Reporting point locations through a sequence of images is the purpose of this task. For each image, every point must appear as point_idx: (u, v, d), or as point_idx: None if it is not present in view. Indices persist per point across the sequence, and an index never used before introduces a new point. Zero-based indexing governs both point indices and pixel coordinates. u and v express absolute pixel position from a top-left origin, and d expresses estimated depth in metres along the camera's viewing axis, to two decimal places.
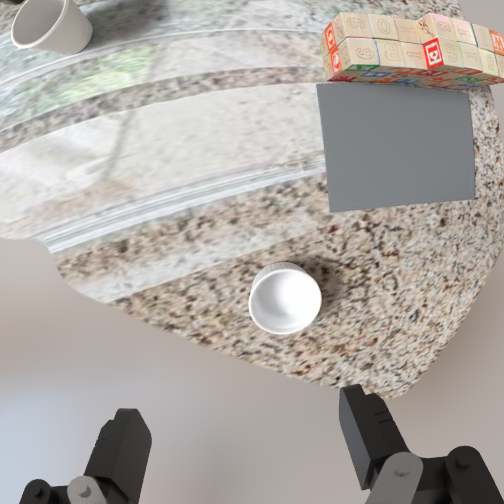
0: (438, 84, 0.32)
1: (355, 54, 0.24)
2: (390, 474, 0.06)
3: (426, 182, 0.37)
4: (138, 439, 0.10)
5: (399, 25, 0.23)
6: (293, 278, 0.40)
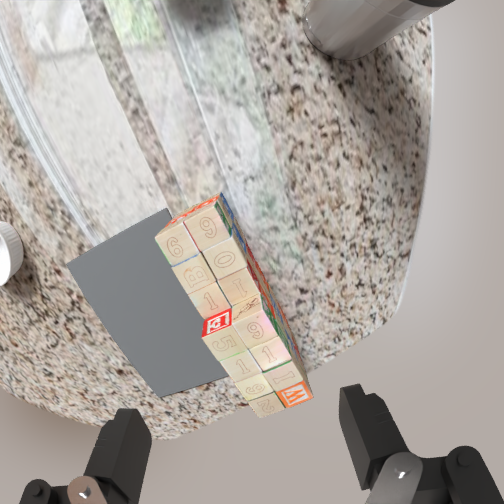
0: None
1: (167, 237, 0.26)
2: (390, 474, 0.06)
3: (137, 345, 0.40)
4: (138, 439, 0.10)
5: (239, 276, 0.28)
6: None
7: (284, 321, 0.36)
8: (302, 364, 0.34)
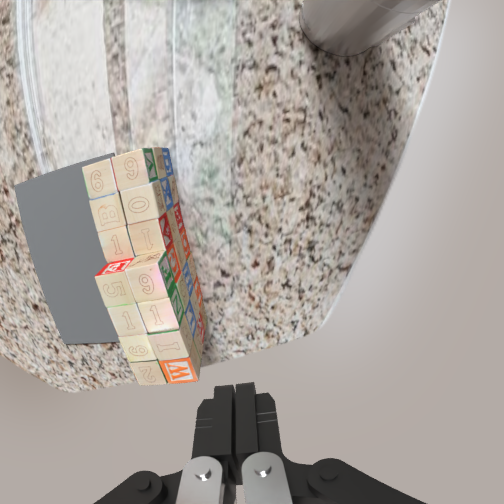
0: None
1: (93, 170, 0.24)
2: (253, 476, 0.07)
3: (55, 283, 0.36)
4: None
5: (148, 226, 0.26)
6: None
7: (195, 295, 0.34)
8: (201, 345, 0.32)
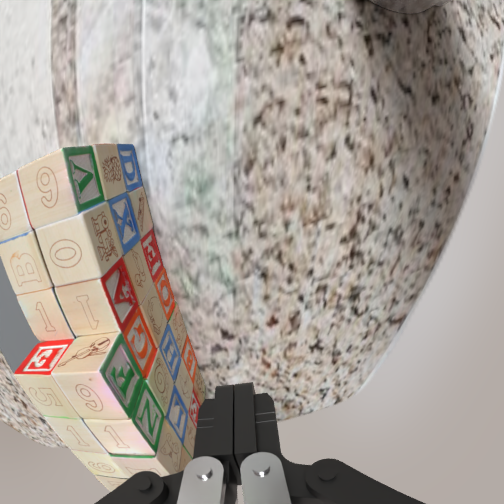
0: None
1: None
2: (252, 477, 0.07)
3: (7, 333, 0.24)
4: None
5: (86, 291, 0.13)
6: None
7: (184, 370, 0.21)
8: None
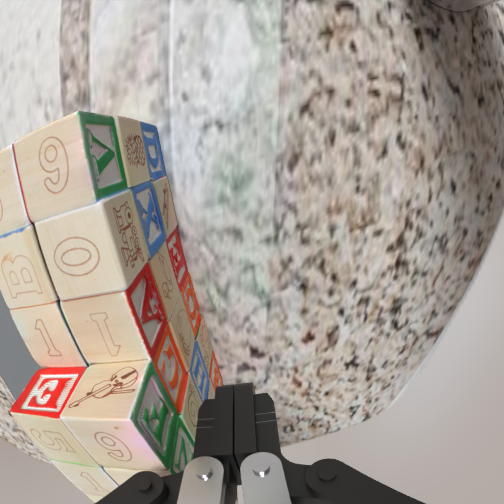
0: None
1: None
2: (252, 477, 0.07)
3: (0, 345, 0.20)
4: None
5: (105, 308, 0.10)
6: None
7: (213, 393, 0.18)
8: None
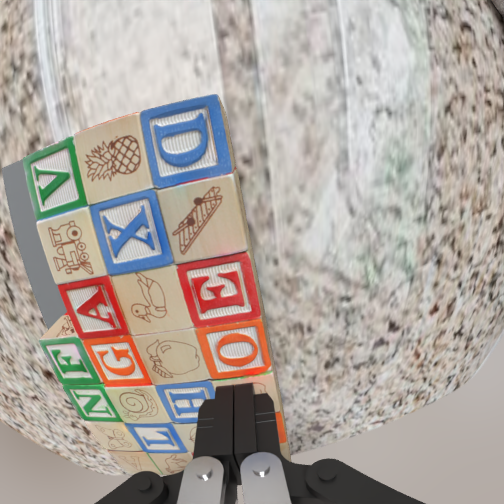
0: None
1: None
2: (252, 477, 0.07)
3: None
4: None
5: None
6: None
7: None
8: None
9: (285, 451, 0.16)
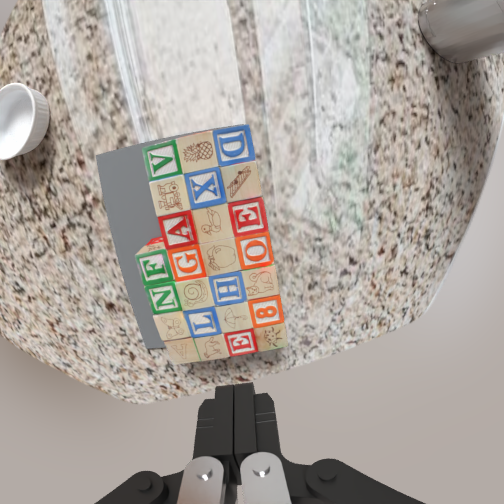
0: None
1: None
2: (252, 477, 0.07)
3: None
4: None
5: None
6: None
7: (242, 310, 0.29)
8: (218, 353, 0.30)
9: (283, 331, 0.30)
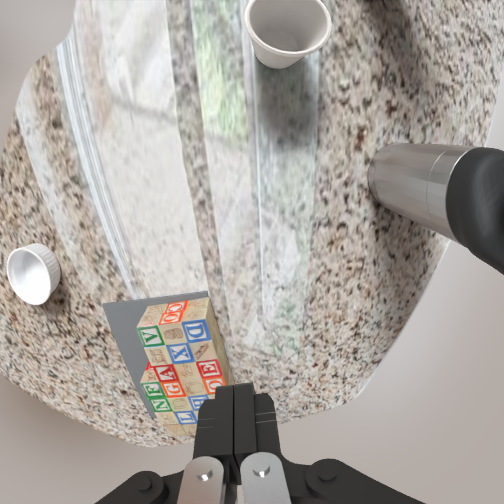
0: None
1: None
2: (252, 477, 0.07)
3: None
4: None
5: None
6: None
7: None
8: None
9: None
